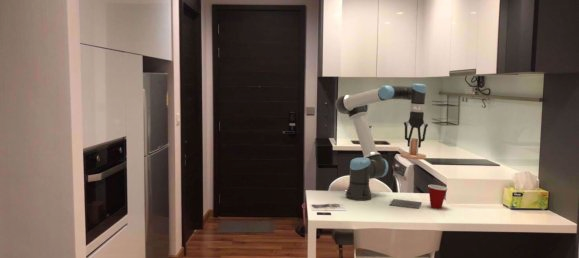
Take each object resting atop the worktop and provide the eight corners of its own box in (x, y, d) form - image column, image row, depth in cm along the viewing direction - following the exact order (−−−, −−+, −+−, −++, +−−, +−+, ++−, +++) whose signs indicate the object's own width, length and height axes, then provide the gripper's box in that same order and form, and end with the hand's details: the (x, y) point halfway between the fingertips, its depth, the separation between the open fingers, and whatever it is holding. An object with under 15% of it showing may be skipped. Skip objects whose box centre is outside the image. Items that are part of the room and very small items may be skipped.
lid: (399, 157, 276) (400, 138, 275) (401, 154, 290) (403, 136, 288) (425, 160, 272) (426, 141, 271) (426, 156, 285) (428, 138, 284)
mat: (389, 205, 279) (389, 204, 279) (393, 199, 293) (393, 198, 293) (418, 208, 274) (418, 207, 274) (421, 203, 288) (421, 202, 288)
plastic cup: (447, 210, 272) (448, 189, 271) (427, 208, 274) (428, 187, 273) (445, 206, 283) (447, 185, 282) (426, 204, 285) (427, 183, 284)
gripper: (401, 110, 277) (397, 152, 280) (431, 113, 272) (428, 155, 274) (402, 109, 284) (399, 150, 287) (432, 112, 279) (428, 153, 281)
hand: (413, 152), depth 281 cm, fingers closed on lid, 3 cm apart
